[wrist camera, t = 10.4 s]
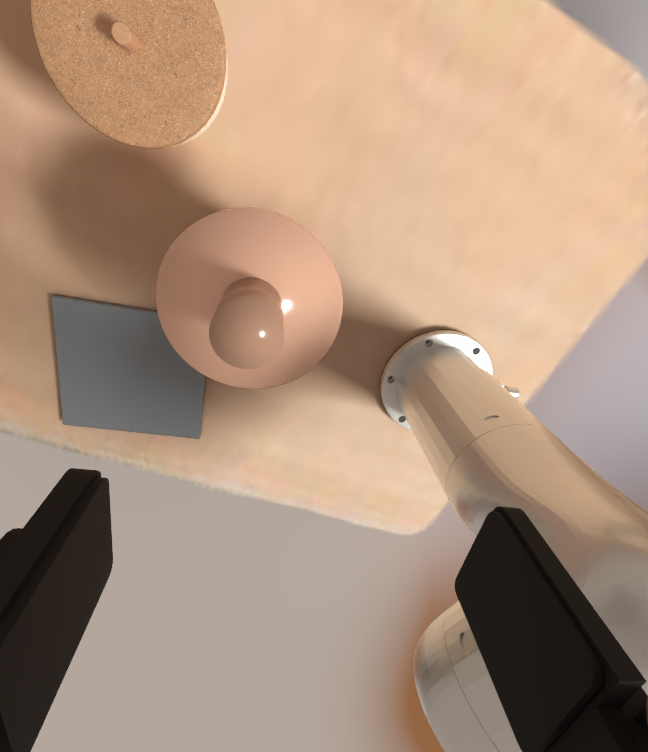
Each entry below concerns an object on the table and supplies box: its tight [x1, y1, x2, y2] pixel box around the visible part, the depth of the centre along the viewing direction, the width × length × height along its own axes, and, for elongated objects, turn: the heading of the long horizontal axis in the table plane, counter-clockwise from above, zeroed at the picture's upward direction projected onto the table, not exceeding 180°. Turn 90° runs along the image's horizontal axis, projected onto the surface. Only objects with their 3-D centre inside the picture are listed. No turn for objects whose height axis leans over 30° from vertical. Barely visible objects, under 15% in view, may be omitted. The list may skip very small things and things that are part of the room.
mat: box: [51, 295, 206, 439], centre depth 40 cm, size 14×14×1 cm
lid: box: [155, 208, 343, 389], centre depth 24 cm, size 12×12×6 cm
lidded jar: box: [30, 0, 228, 149], centre depth 26 cm, size 11×11×9 cm
